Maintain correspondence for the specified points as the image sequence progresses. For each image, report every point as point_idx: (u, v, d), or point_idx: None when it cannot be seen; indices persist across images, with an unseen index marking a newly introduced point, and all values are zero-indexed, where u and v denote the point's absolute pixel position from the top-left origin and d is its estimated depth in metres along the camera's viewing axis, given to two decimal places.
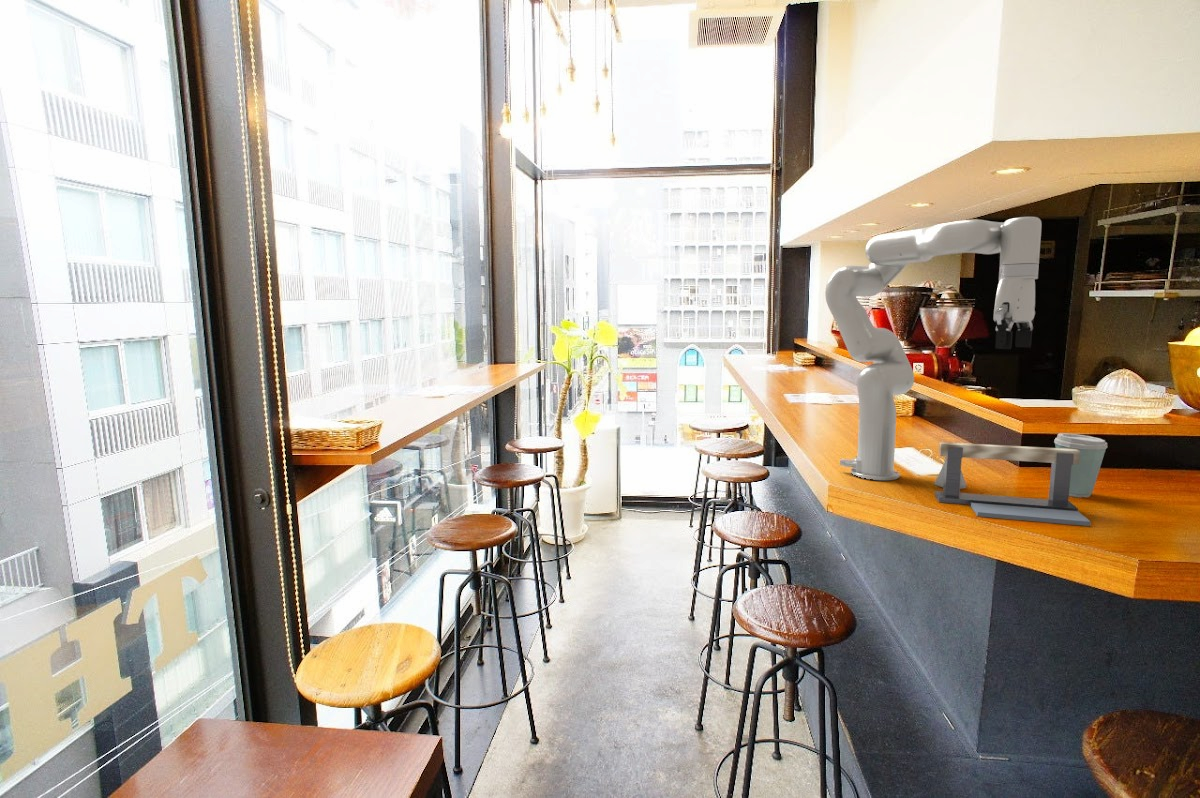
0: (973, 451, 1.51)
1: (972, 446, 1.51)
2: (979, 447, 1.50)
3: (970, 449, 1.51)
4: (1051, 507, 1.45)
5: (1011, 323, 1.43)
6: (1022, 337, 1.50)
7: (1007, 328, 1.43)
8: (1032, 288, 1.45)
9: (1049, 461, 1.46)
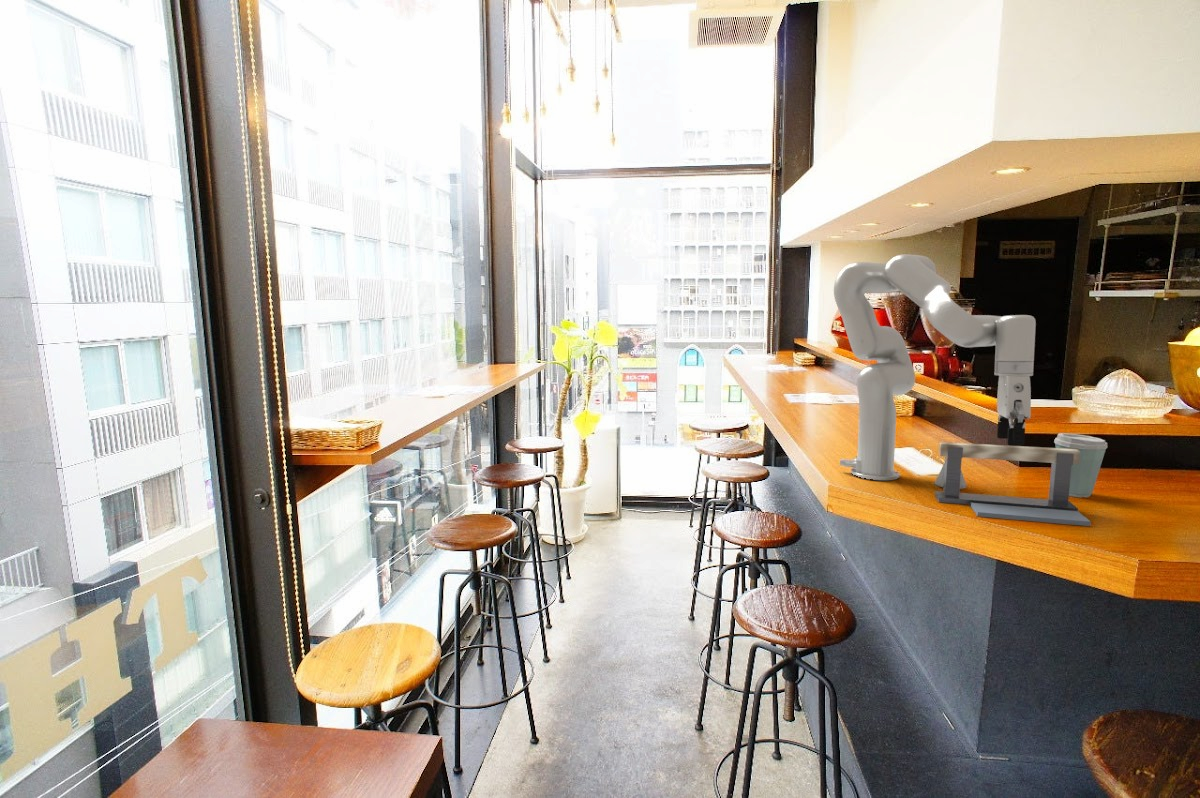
0: (973, 451, 1.51)
1: (972, 446, 1.51)
2: (979, 447, 1.50)
3: (970, 449, 1.51)
4: (1051, 507, 1.45)
5: (999, 414, 1.53)
6: None
7: None
8: (1002, 384, 1.47)
9: (1049, 461, 1.46)
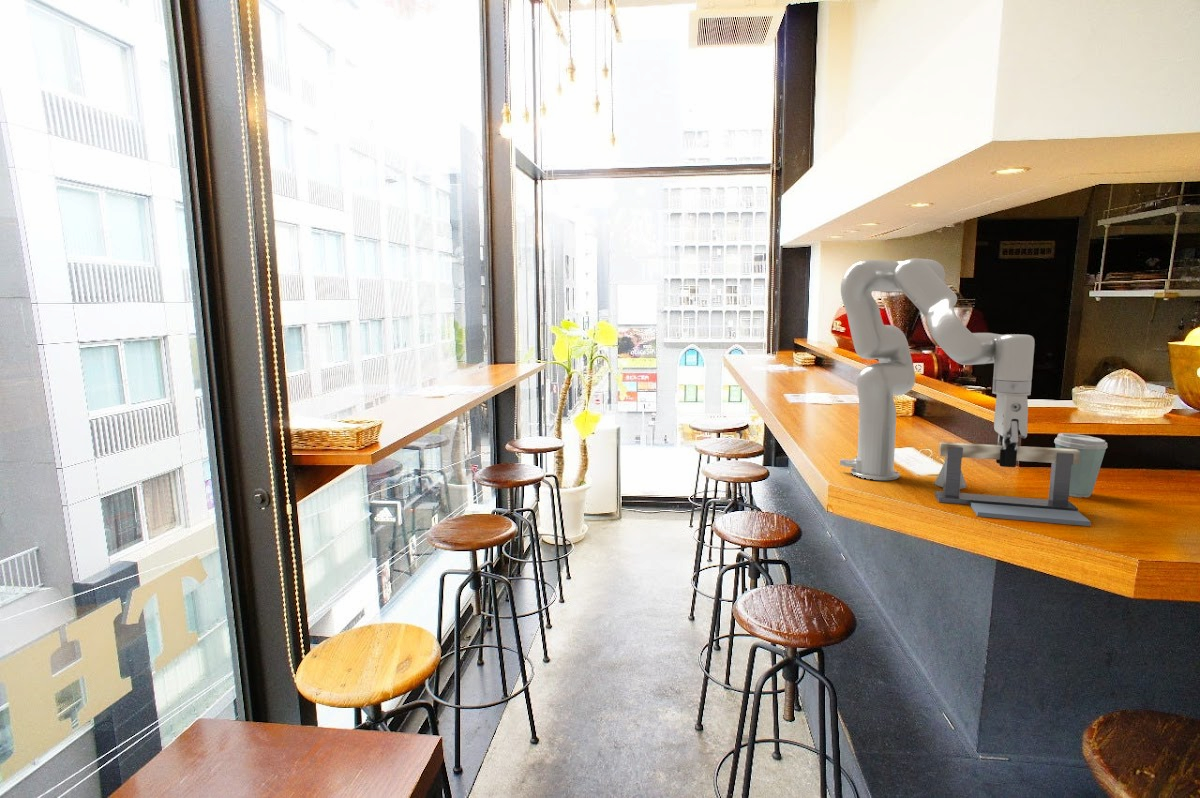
0: (973, 451, 1.51)
1: (972, 446, 1.51)
2: (979, 447, 1.50)
3: (970, 449, 1.51)
4: (1051, 507, 1.45)
5: (998, 438, 1.52)
6: None
7: None
8: (1000, 403, 1.47)
9: (1049, 461, 1.46)
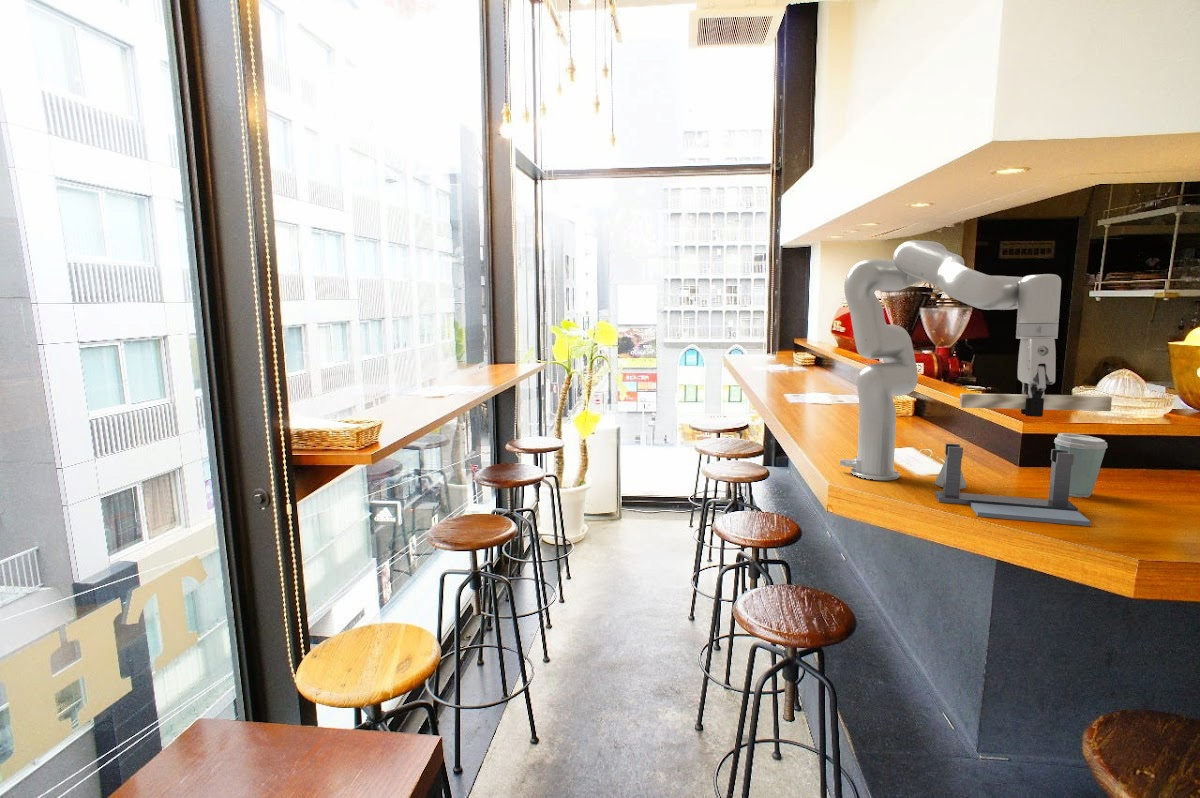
0: (997, 401, 1.42)
1: (995, 396, 1.42)
2: (1003, 396, 1.41)
3: (993, 399, 1.42)
4: (1051, 507, 1.45)
5: (1023, 387, 1.43)
6: None
7: None
8: (1025, 348, 1.38)
9: (1078, 409, 1.37)
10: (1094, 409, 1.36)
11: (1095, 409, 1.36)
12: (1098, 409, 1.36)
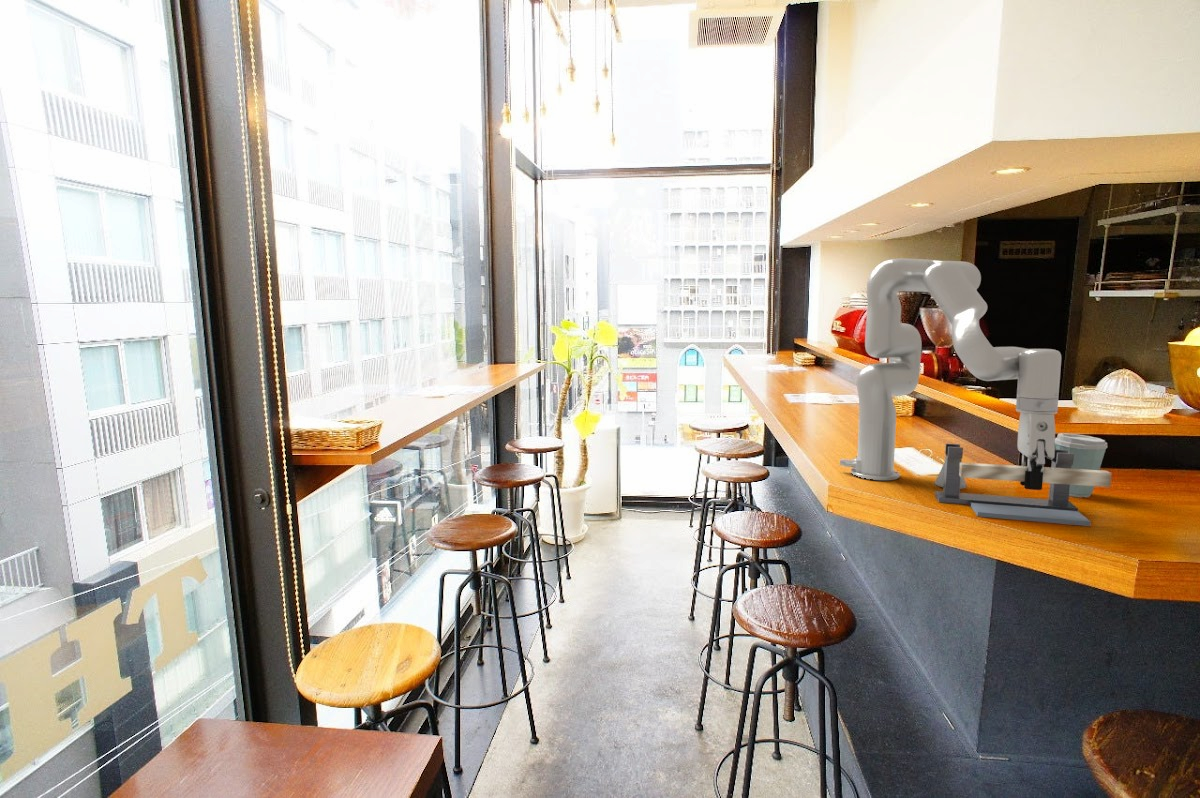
0: (996, 472, 1.42)
1: (995, 467, 1.42)
2: (1002, 468, 1.42)
3: (993, 471, 1.42)
4: (1051, 507, 1.45)
5: (1022, 458, 1.43)
6: None
7: None
8: (1024, 422, 1.39)
9: (1078, 483, 1.37)
10: (1094, 484, 1.36)
11: (1095, 484, 1.36)
12: (1097, 484, 1.36)
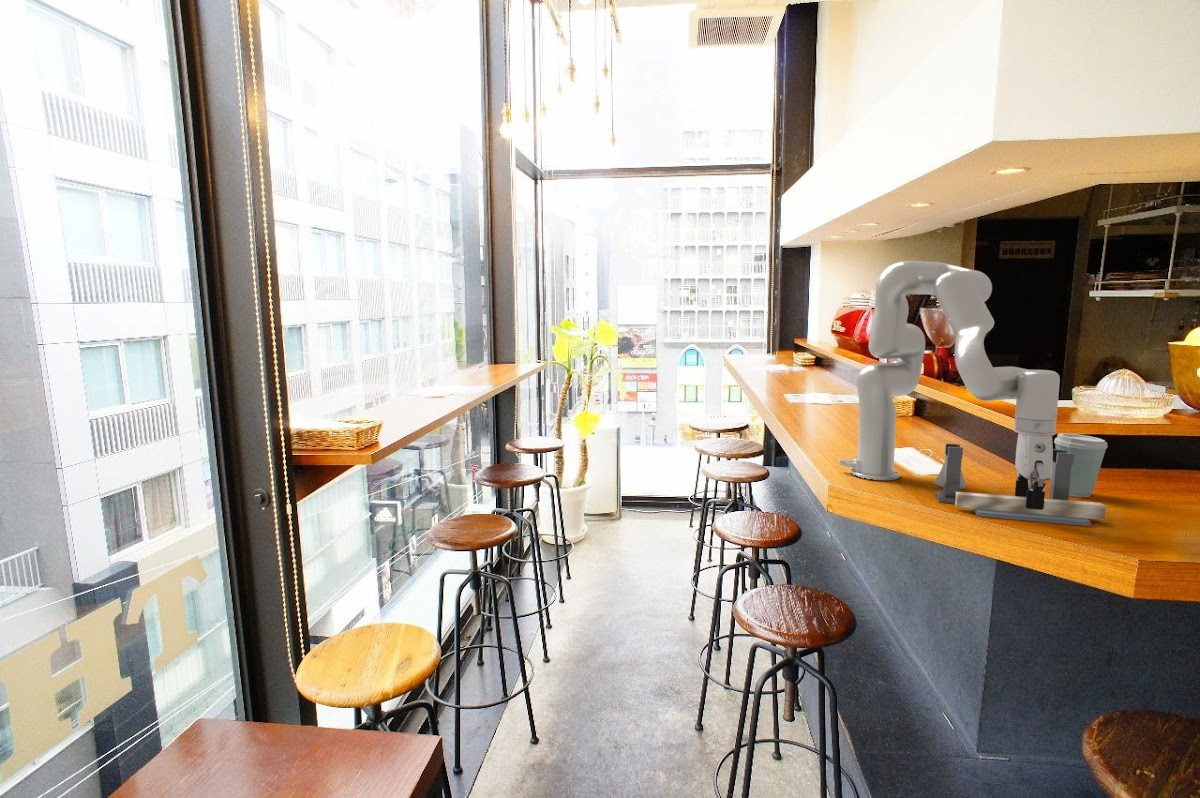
0: (992, 503, 1.43)
1: (990, 498, 1.43)
2: (998, 499, 1.43)
3: (988, 501, 1.44)
4: None
5: (1018, 472, 1.46)
6: None
7: None
8: (1022, 442, 1.39)
9: (1072, 515, 1.38)
10: (1088, 517, 1.37)
11: (1089, 517, 1.37)
12: (1092, 517, 1.37)
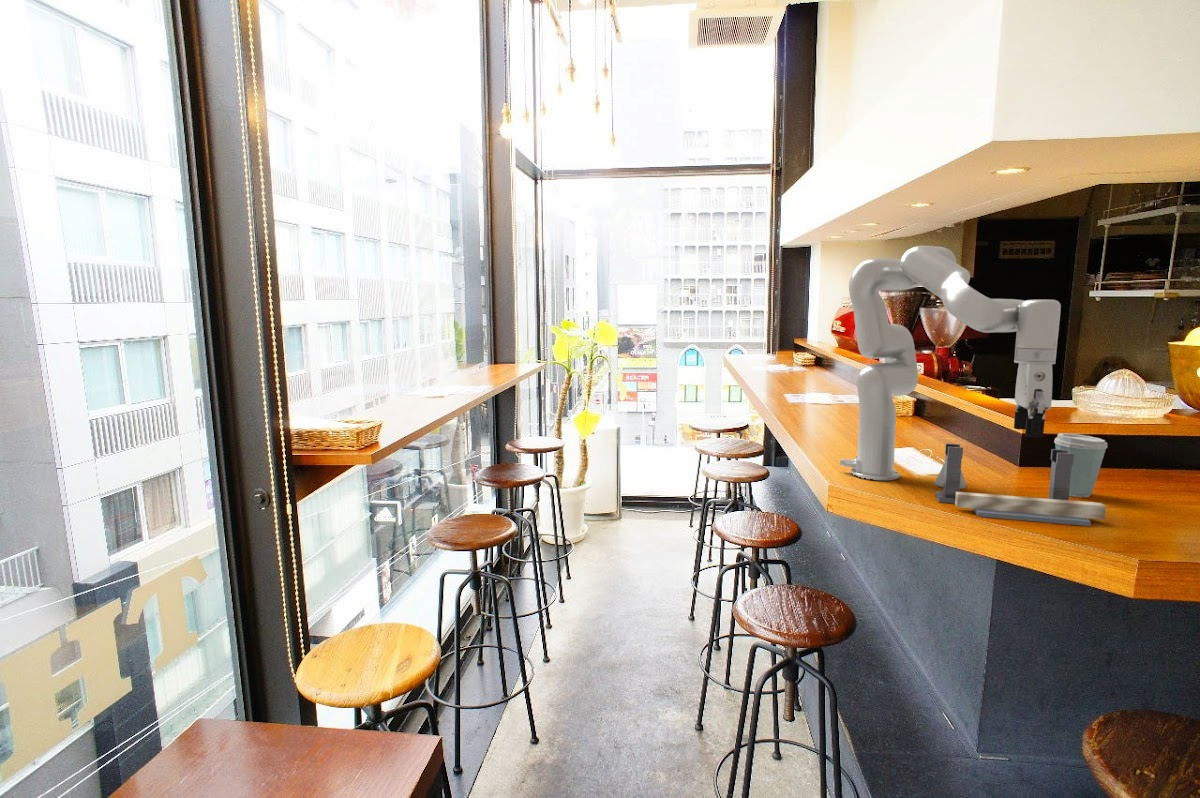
0: (992, 503, 1.43)
1: (990, 498, 1.43)
2: (998, 499, 1.43)
3: (988, 501, 1.44)
4: None
5: (1017, 404, 1.46)
6: None
7: None
8: (1022, 372, 1.39)
9: (1072, 515, 1.38)
10: (1088, 517, 1.37)
11: (1089, 517, 1.37)
12: (1092, 517, 1.37)
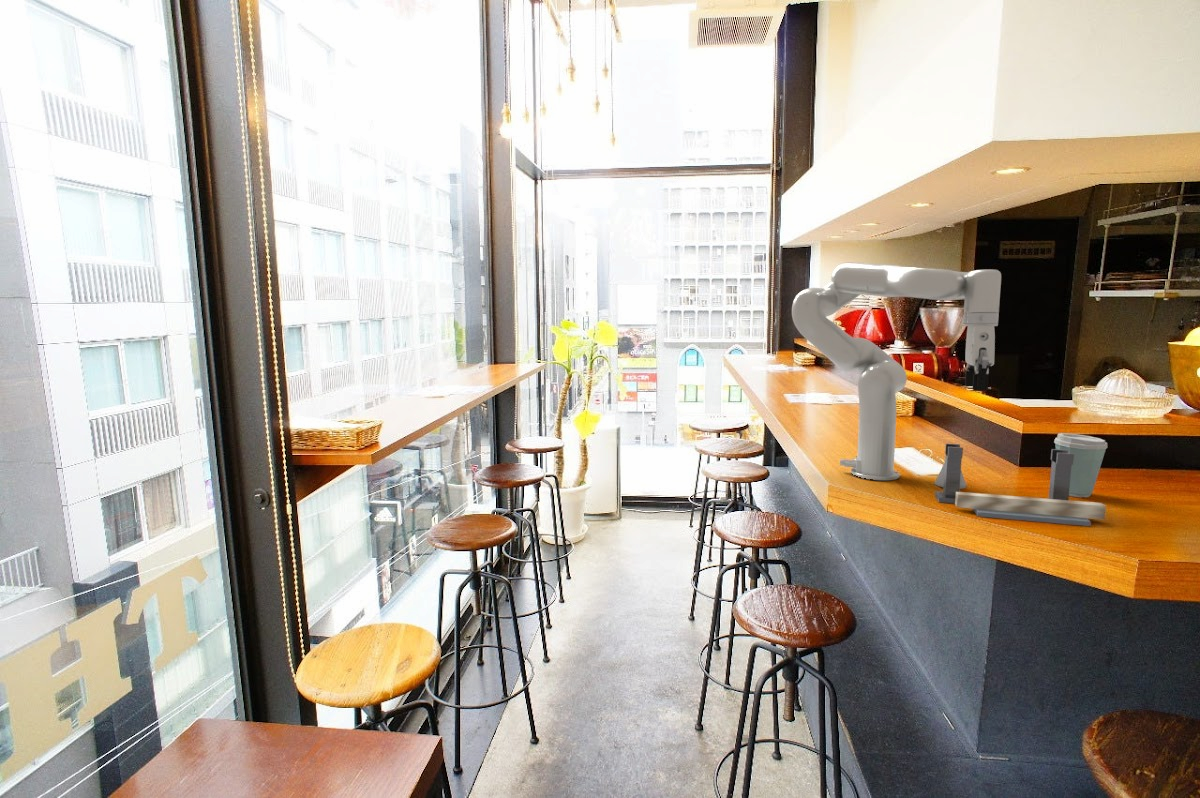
0: (992, 503, 1.43)
1: (990, 498, 1.43)
2: (998, 499, 1.43)
3: (988, 501, 1.44)
4: None
5: (967, 364, 1.65)
6: None
7: None
8: (969, 334, 1.58)
9: (1072, 515, 1.38)
10: (1088, 517, 1.37)
11: (1089, 517, 1.37)
12: (1092, 517, 1.37)
